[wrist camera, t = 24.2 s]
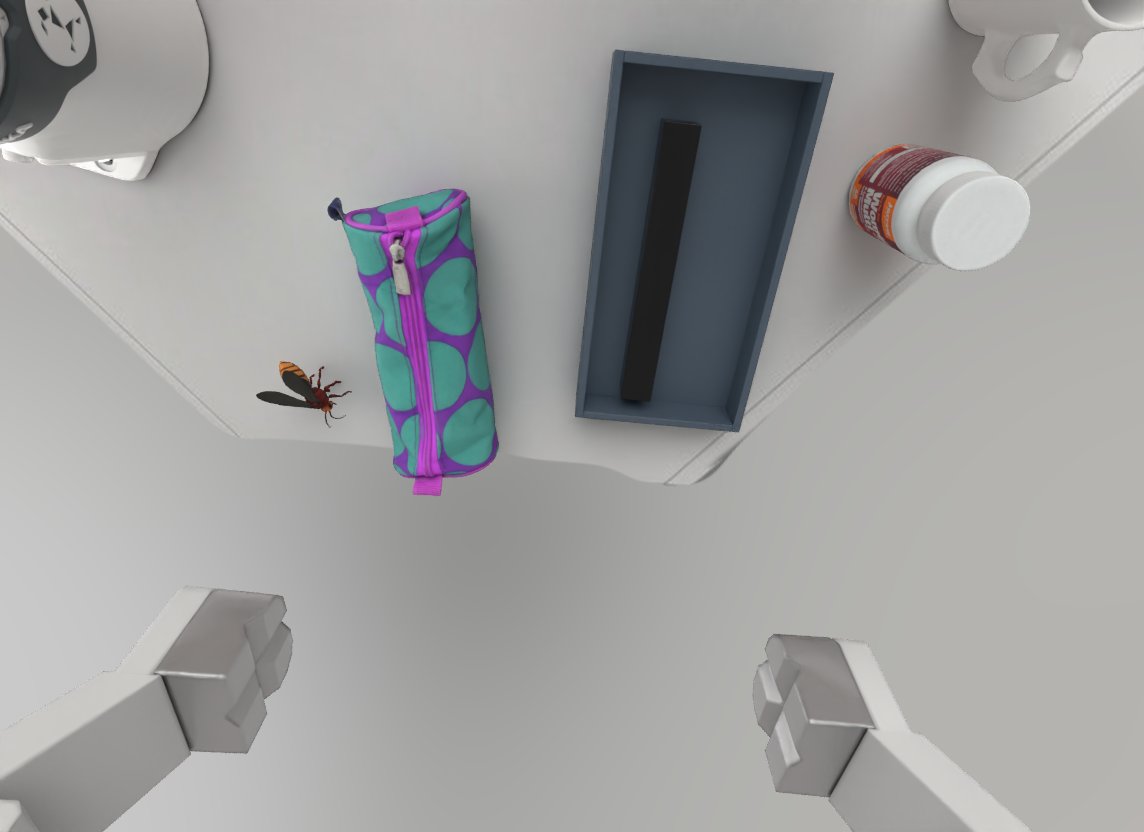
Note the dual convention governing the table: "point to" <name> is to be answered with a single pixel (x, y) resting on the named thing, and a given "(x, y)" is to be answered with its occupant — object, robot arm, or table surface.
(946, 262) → the pill bottle
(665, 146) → the rod
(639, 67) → the tray
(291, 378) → the insect
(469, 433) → the pencil case
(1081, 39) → the mug
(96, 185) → the table surface
